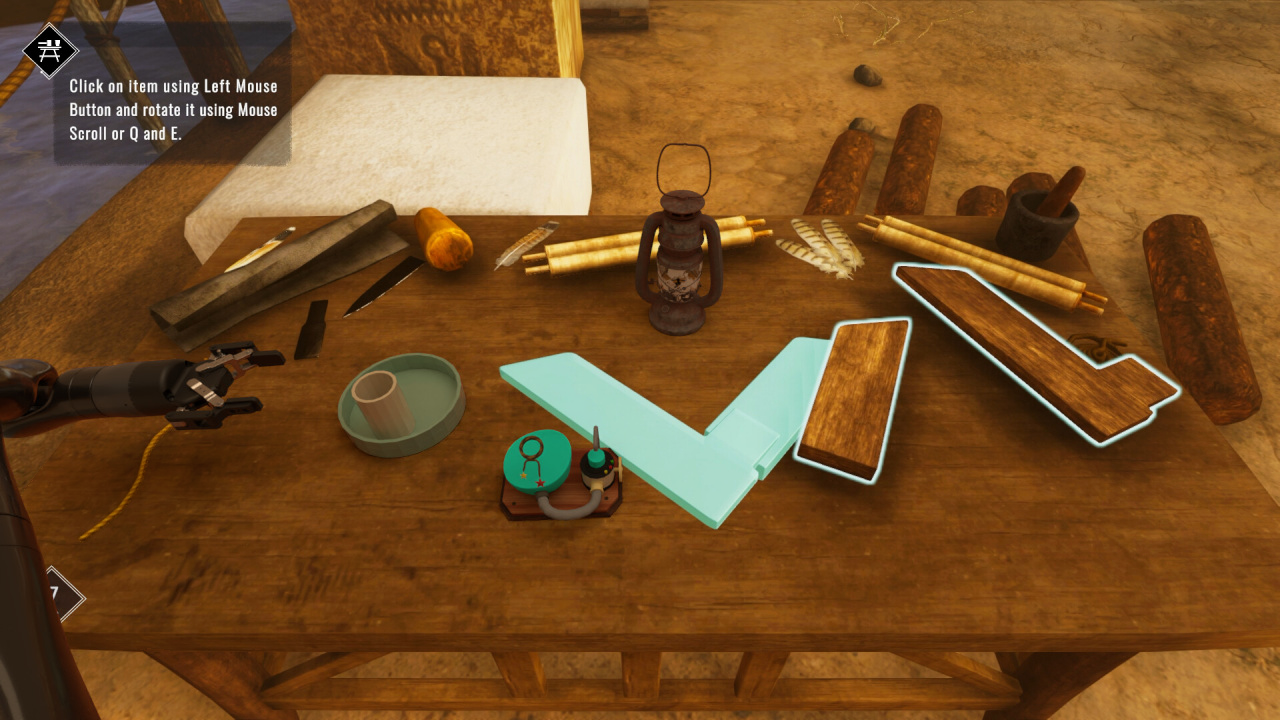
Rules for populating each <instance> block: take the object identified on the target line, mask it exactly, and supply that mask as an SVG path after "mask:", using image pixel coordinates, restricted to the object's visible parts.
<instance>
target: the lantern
mask: <svg viewBox="0 0 1280 720" xmlns="http://www.w3.org/2000/svg"><path fill="white" fill-rule="evenodd" d="M669 146H682V147H683V146H687V147H698V148H701V149H703V151H704V152H705V154H706V157H707V161H708V167H709V169H708V170H709V178H708V185H707V187H706V190H705V192H704V193H703V194H700V193H699V192H696V191H693V190H691V189H690V190H689V189H675V190H670V191H667V192H665V191H663V190H662V188H661V186H660V182H659V170H660V163H661V159H662V155H663V154H664V153H663V152H664V151H665V149H666V148H668V147H669ZM655 174H656V176H655V177H656V186H657V188H658V190H659V192H660V193H661V194H662V195H661V197H660V199H659V204H660V207H661V208H662V210H660V211H655V212H652V213H651V214H648V216H647V218H645V221H644V224H643V226H642V231H641V234H640V239H639V240H640V241H639V245H638V252H637V258H636V263H635V264H636V265H635V271H634V272H635V274H634V285H635V291H636V292H637V295H638V296H639V297H640V299H642V300H643V301H644V302H646V303H648V304H651V306H650V307H649V309H648V320H649V322H650V324H651V326H652V327H653V329H655V330H657V331H658V332H660V333H662V334H664V335H668V336H673V337H674V336H675V337H682V336H689V335H691V334H694V333H696V332H698V331H699V330H700V329H702V327H703V326H704V324H705V322H706V318H707V317H706V316H707V315H706V309H708V308H710V307H712V306H714V305H716V304H717V303H718V302H719V301H720V299H721V297H722V294H723V288H724V260H723V259H724V258H723V249H722V248H723V247H722V237H721V231H720V227H719V223H718V222H717V221H716V219H714V217H713V216H712V215H711V216H710V215H708V214H705V213H702V210H703V208H704V207H705V205H706V200H705V198H704V197H705V196H707V194H708V193H709V191H710V188H711V183H712V161H711V156H710V154H709V151H708V149H707V147H705V146H704V145H702V144H700V143H699V144H698V143H688V142H669V143H666V144H665V145H664V146H663V147H662V148H661V150H660V152H659V156H658V159H657V165H656V173H655ZM657 230H658V234H657V242H658V244H659V245H658V248H657V252H656V265H657V266H656V274H657V280H656V279H655V278H653V277H652V278H650V280H649V268H650V260H651V258H652V257H651V256H652V251H653V246H654V241H655V236H656V233H657ZM704 233H705V235H704ZM705 237H706V244H707V245H706V246H707V253H708V263H709V276H710V282H709V283H710V284H709V285H710V286H709V290H708V292H707V294H705V295H700V294H699V293H698V291H699V290H700V289H701V288H702V287H703V286H702V284H701V276H702V272H703V264H704V263H703V262H704V257H705V256H704V252H703V251H704V250H703V247H702V246H703V244H704V243H705ZM689 273H691V274H692V275H693V276H694V279H693V278H692V277H690V276H688V275H689ZM664 275H667V276H668V278H670V279H666V278H665V277H664ZM674 281H676V282H674ZM681 281H682V282H681ZM655 283H656V287H658V290H659V291H658V292H656V291H652V290H651V289H650V287H649V285H652V286H654V285H655Z"/></svg>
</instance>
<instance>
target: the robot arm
mask: <svg viewBox="0 0 1280 720" xmlns="http://www.w3.org/2000/svg"><path fill="white" fill-rule="evenodd" d="M208 351H209V352H210V353H211V354H210V356H209V357H208V359H205V360H201V361H198V362H194V361H190V360H187V359H182V358H173V359H172V358H171V359H157V360H146V361H145V360H143V361H131V362H123V363H119V364H118V363H117V364H113V365H112V364H111V365H103V366H102V365H101V366H86V367H77V368H71V369H68V370H66V371H64V372H62V373H61V374H59V372H58V370H57V369H56V367H55V366H54V365H52V364H50V363H49V362H47V361H44V360H40V359H36V358H35V359H34V358H12V359H11V358H10V359H4V360H0V720H102V717H101V715H100V714H99V711H98V709H97V706H96V704H95V702H94V700H93V698H92V695H91V694H90V692H89V689H88V687H87V684H86V683H85V681H84V678H83V676H82V674H81V672H80V670H79V668H78V665H77V663H76V660H75V657H74V656H73V655H74V654H73V653H72V651H71V648H70V645H69V642H68V639H67V636H66V633H65V630H64V626H63V624H62V620H61V618H60V614H59V611H58V609H57V605H56V601H55V598H54V594H53V591H52V586H51V583H50V579H49V576H48V572H47V571H48V570H47V567H46V563H45V559H44V555H43V552H42V550H41V547H40V544H39V541H38V538H37V534H36V531H35V528H34V525H33V523H32V521H31V519H30V516H29V513H28V510H27V508H26V506H25V503H24V500H23V498H22V494H21V493H20V488H19V487H18V484H17V481H16V477H15V476H14V472H13V469H12V466H11V463H10V460H9V455H8V451H7V449H6V445H5V439H25V438H29V437H30V438H31V437H34V436H38V435H41V434H45V433H48V432H50V431H53V430H57V429H59V428H62V427H64V426H67V425H69V424H73V423H77V422H81V421H85V420H97V419H108V418H109V419H112V418H124V419H125V418H127V419H128V418H129V419H132V418H147V417H161V416H164V419H165V420H166V421H167V422H168V423H169V424H170V425H171V426H172V427H173V428H174V429H175V430H176V431H203V430H204V431H206V430H218V429H220V428H222V427H223V425H224V423H223V421H224V420H226V419H229V418H232V417H233V416H239V415H251V414H254V413H256V412H261V411H262V410H263V408H264V404H263V403H262V401H261V400H260V399H259V398H258V396H240V397H228V398H226V400H224V399H223V398H224V397H226V396H227V394H228V392H229V389H230V387H231V385H233V383H234V381H236V380H238V379H240V378H242V377H244V376H245V375H246V372H248V371H250V370H252V369H255V368H257V367H259V368H264V367H265V368H266V367H279V366H281V367H282V366H284V365H285V364H286V362H287V359H286V356H285V355H284V354H283V353H282V352H281V351H280V350H277V349H269V350H259V349H258V346H256V344H255V342H254V341H253V340H244V341H235V342H226V343H216V344H215V343H214V344H211V345H210V346H209V347H208ZM245 360H247V362H244V363H243V364H240V363H239V362H242V361H245ZM226 365H231V367H232V368H233V369H234V370H233V371H231V370H229V369H228V367H226ZM204 407H208V408H209V410H208V409H205V410H203V409H202V408H204ZM200 409H202V410H200Z"/></svg>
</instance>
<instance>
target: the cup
mask: <svg viewBox="0 0 1280 720" xmlns="http://www.w3.org/2000/svg"><path fill="white" fill-rule="evenodd" d="M351 393H352V397H353V399H354V400H355V402H356V404H357V406H358V407H359V409H360V411H361V413H362V414H363V416H364V418H365V420H366V422H367V423H368V425H369V427H370V429H371V430H372V432H373V434H374V435H375V437H376V438H377V439H378V440H387V439H397V438H401V437H405V436H408V435H410V434H411V433H412V431H413V430H414V428H415V418H414V416H413V413H412V411H411V409H410V407H409V405H408V403H407V400H406V398H405V396H404V394H403V392H402V390H401V388H400V385H399V383H398V381H397V379H396V377H395V376H394V375H393V374H392V373H391V372H388V371H383V370H382V371H373V372H370V373H367V374H365V375H364V376H362V377H360V378H359V379H358V380H357V381H356V382H355V383H354V385H353V387H352V390H351Z"/></svg>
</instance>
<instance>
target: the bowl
mask: <svg viewBox="0 0 1280 720" xmlns="http://www.w3.org/2000/svg"><path fill="white" fill-rule="evenodd" d="M382 370H383V371H388V372H391V373H392V374H393V375H394V376H395V377H396V379H397V381H398V383H399V385H400V388H401V390H402V392H403V394H404V396H405V398H406V400H407V403H408V405H409V407H410V409H411V411H412V413H413V416H414V418H415V428H414V430H413V431H412V433H411V434H410V435H408V436H405V437H401V438H397V439H387V440H378V439H377V438H376V437H375V435H374V434H373V432H372V430H371V429H370V427H369V425H368V423H367V422H366V420H365V418H364V416H363V414H362V413H361V411H360V409H359V407H358V406H357V404H356V402H355V400H354V399H353V397H352V393H351V390H352V387H353V385H354V383H355V382H356V381H357V380H358V379H359V378H360V377H362V376H364V375H365V374H367V373H370V372H373V371H382ZM337 403H338V404H337V418H338V420H339V423H340V425H341V428H342V429H343V431H344V432H345V434H346V435H347V437H348V439H349V440H350V441H351V443H352V444H353V445H354V446H355V447H356V448H357V449H359V450H360V451H362V452H363V453H365V454H368V455H369V456H373V457H378V458H385V459H392V458H394V459H395V458H403V457H408V456H413V455H416V454H419V453H421V452H423V451H426V450H429V449H430V448H432V447H434V446H436V445H437V444H438V443H441V441H443V440H444V439H446V438H447V437H448V436H449V435H450V434H451V433H452V432H453V431H454V430H455V429H456V427H457V426H458V424H459V423H460V422H461V420H462V419H463V416H464V413H465V410H466V407H467V394H466V391H465V386H464V384H463V381H462V378H461V374H460V373H459V371H458V370H457V368H456V367H455V365H454V364H453V363H452V362H450V361H448V360H447V359H446V358H444V357H441V356H438V355H436V354H432V353H425V352H410V353H409V352H408V353H407V352H406V353H402V354H401V353H400V354H397V355H393V356H390V357H387V358H384V359H382V360H380V361H377V362H375V363H373V364H371V365H370V366H367V367H366V368H364V369H363V370H361V371H360V372H359V373H358V374H357V375H356V376H355V377H354V378H353V379H352V380H351V381H350V382H348V384H347V386H346V387H345V389H344V390H343V391H342V393H341V395H340V398H339V401H338V402H337Z"/></svg>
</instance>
